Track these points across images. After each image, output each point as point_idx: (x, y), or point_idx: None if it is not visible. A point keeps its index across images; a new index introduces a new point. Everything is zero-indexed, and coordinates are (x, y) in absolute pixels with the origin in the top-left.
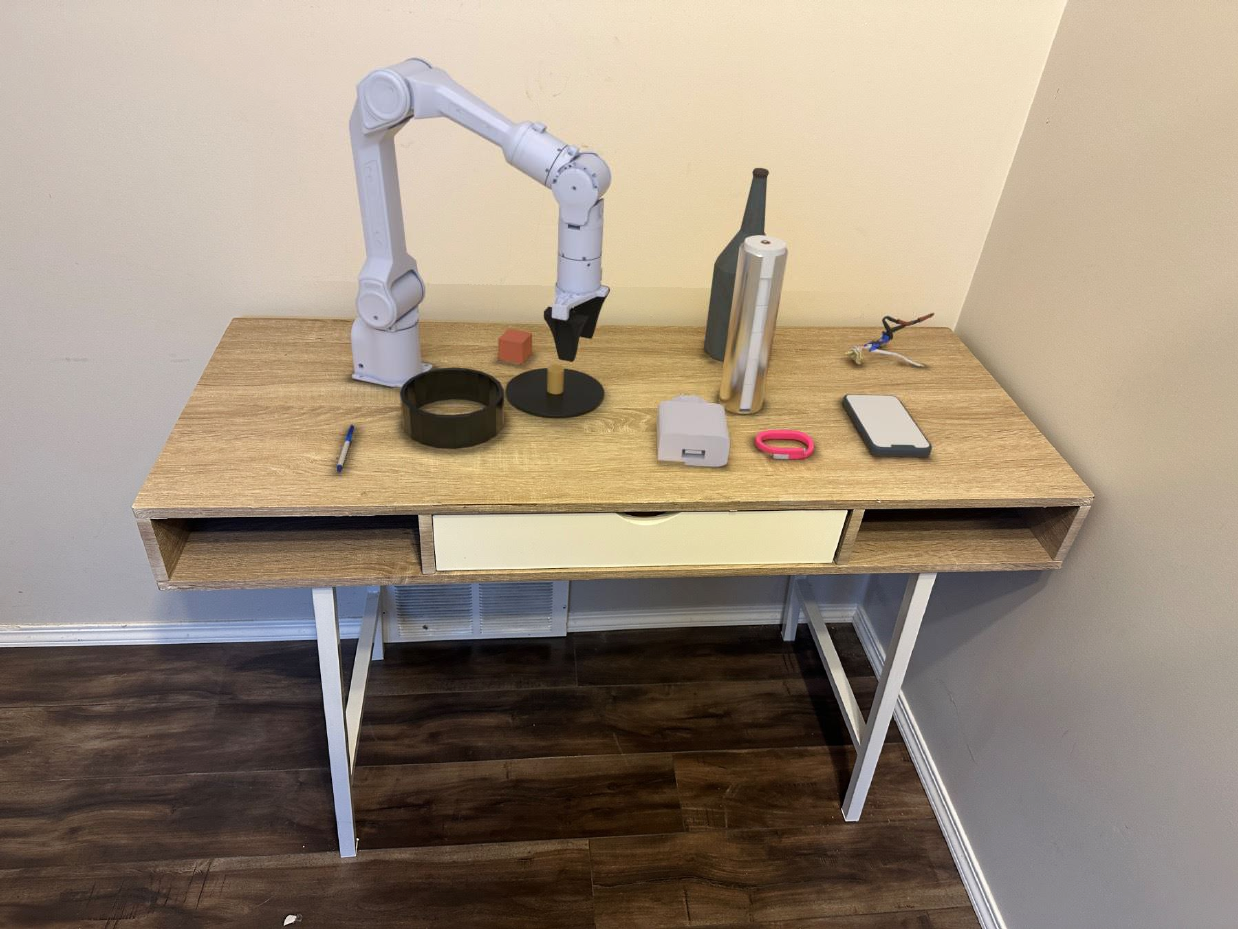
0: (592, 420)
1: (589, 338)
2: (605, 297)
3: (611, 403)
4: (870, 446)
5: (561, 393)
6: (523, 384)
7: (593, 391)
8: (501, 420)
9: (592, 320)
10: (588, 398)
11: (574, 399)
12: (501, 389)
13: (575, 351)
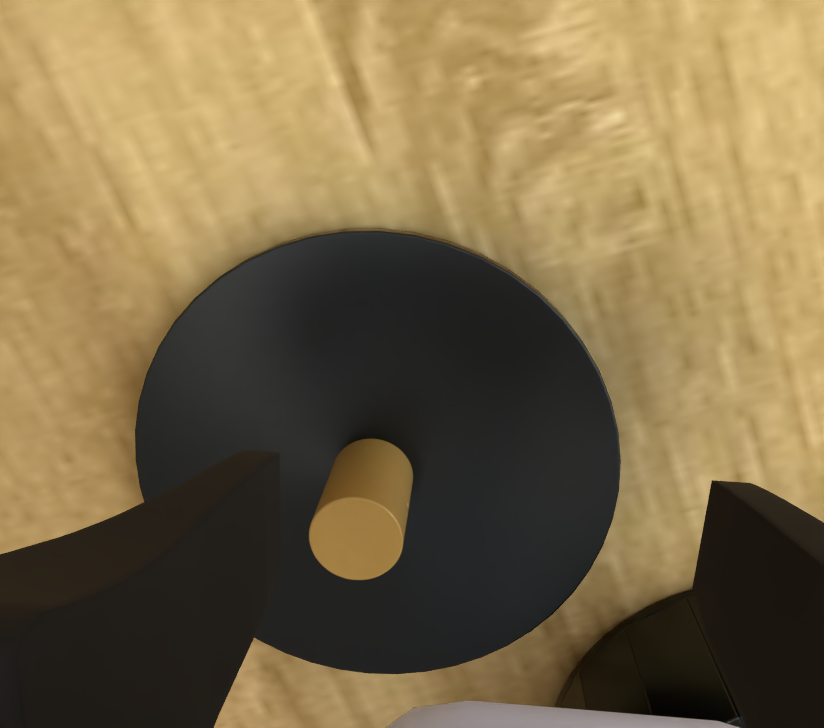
0: (533, 231)
1: (279, 465)
2: (13, 596)
3: (329, 184)
4: None
5: (390, 440)
6: (375, 615)
7: (306, 298)
8: None
9: (217, 538)
10: (390, 302)
11: (426, 366)
12: (740, 726)
13: (809, 516)
